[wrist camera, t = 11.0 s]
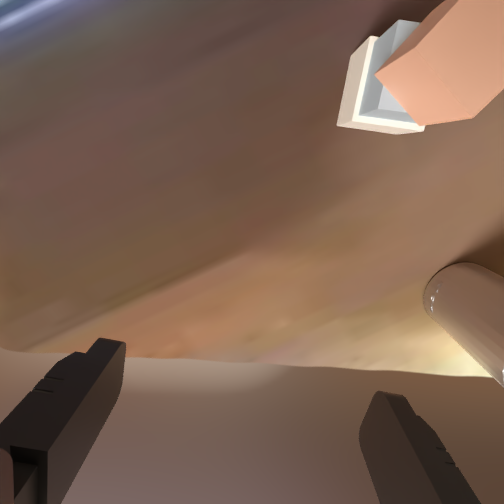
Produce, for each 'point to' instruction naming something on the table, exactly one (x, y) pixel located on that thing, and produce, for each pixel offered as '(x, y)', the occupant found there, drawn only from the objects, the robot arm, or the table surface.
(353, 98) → the cream base block
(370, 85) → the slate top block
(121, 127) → the table surface
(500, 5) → the terracotta block
